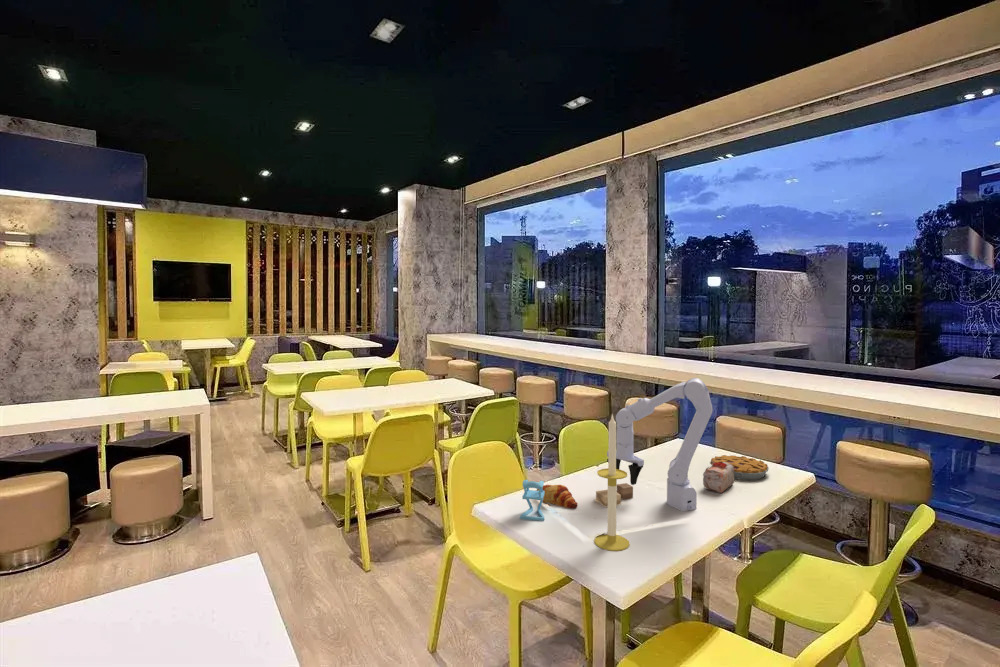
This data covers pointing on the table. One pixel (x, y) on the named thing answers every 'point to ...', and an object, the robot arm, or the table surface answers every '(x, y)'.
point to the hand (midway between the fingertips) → (624, 481)
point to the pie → (744, 466)
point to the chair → (533, 495)
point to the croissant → (558, 496)
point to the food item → (718, 476)
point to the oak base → (606, 497)
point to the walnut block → (625, 490)
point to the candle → (612, 497)
